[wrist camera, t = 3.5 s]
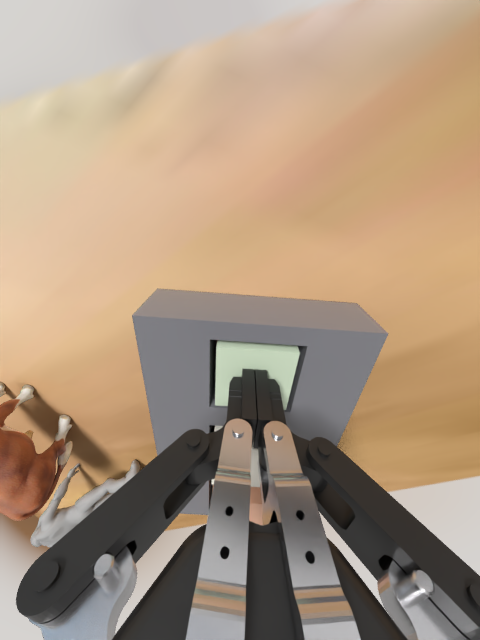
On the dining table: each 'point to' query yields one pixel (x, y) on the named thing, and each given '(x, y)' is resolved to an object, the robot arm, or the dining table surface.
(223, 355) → the sage button
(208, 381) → the button panel
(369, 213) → the dining table surface
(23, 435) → the bull figurine
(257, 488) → the terracotta button
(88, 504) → the grey human figurine
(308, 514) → the robot arm
